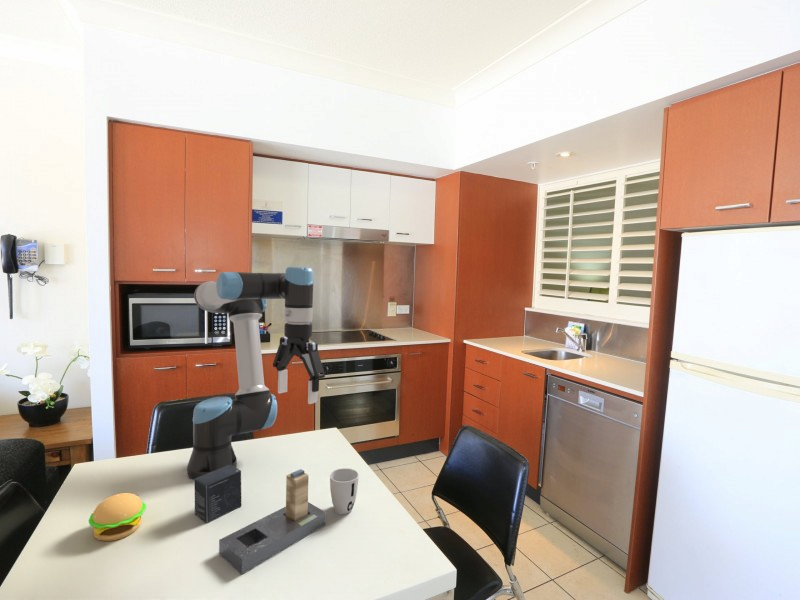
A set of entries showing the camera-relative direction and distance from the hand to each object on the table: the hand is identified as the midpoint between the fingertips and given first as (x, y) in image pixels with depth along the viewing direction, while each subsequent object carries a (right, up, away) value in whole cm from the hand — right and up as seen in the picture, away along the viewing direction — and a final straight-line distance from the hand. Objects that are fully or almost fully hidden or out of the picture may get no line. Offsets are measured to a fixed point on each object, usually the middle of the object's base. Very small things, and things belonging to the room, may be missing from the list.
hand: (297, 397), depth 115 cm
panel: (-2, -33, -12) cm, 35 cm away
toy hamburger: (-43, -31, -11) cm, 54 cm away
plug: (+2, -32, -7) cm, 33 cm away
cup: (+13, -32, +2) cm, 35 cm away
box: (-22, -31, -1) cm, 38 cm away
